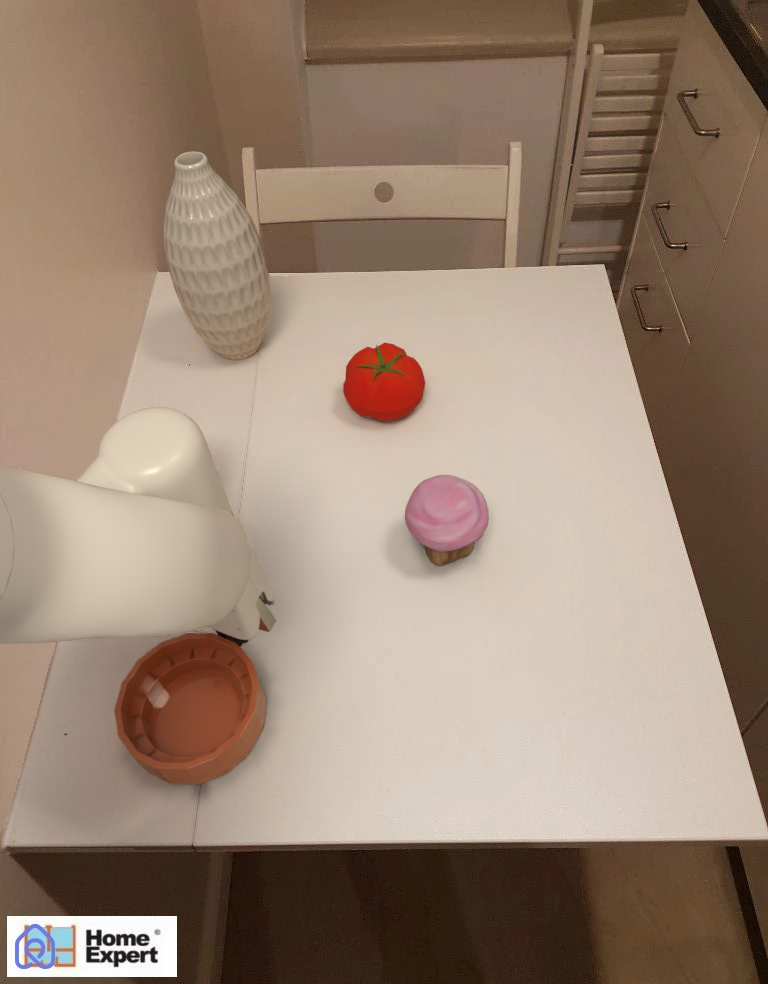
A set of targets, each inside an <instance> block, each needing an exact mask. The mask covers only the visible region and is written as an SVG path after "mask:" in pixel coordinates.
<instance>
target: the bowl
mask: <svg viewBox="0 0 768 984" xmlns="http://www.w3.org/2000/svg"><path fill="white" fill-rule="evenodd" d="M267 703H268V701H267V698H266V695H265V692H264V687H263V684H262V680H261V678H260V676H259V673H258V671H257V669H256V667H255V664H254V662H253V660H252V659H251V657H250V656H248V654H247V653H246V652H245V651H244V650H243V648H242V647H241V648H240V647H239V645H238V644H237V643H235V642H233V641H231V640H228V639H226V638H224V637H221V636H219V635H217V633H214V632H185V633H182V634H181V635H178V636H175V637H172V638H169V639H167V640H163V641H161V642H160V643H158V644H157V645H155V646H154V647H153V648H151V649H150V650H149V651H148V652H146V653H145V654H144V655H142V656H141V657H139V658H138V659H137V660H136V662H135V663H134V665H133V666H132V667H131V669H130V670H129V671H128V673H127V674H126V676H125V678H124V679H123V680H122V682H121V684H120V688H119V691H118V695H117V699H116V703H115V706H114V711H113V712H114V718H115V719H114V720H115V725H116V731H117V737H118V739H119V740H120V741H121V743H122V744H123V746H124V747H125V748H126V749H127V751H128V752H129V754H130V755H131V756H132V758H133V759H134V760H135V761H136V762H137V763H138V764H139V765H140V766H141V767H142V768H143V769H144V771H146V772H147V774H150V775H152V776H154V777H156V778H158V779H160V780H162V781H163V782H166V783H168V784H170V785H201V784H205V783H206V782H208V781H212V780H214V779H217V778H219V777H221V776H224V775H226V774H228V773H230V772H231V771H232V770H233V769H234V768H235V767H236V766H238V764H240V763H241V762H242V761H244V759H246V757H248V756H249V755H250V753H251V752H252V750H253V748H254V746H255V744H256V743H257V742H258V739H259V737H260V735H261V733H262V732H263V730H264V725H265V718H266V711H267Z"/></svg>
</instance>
